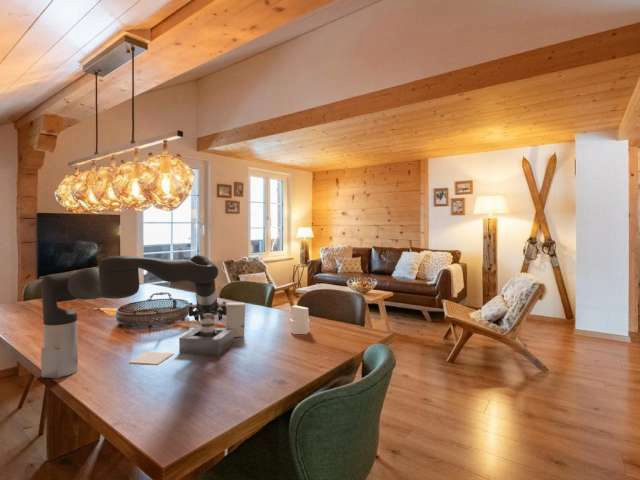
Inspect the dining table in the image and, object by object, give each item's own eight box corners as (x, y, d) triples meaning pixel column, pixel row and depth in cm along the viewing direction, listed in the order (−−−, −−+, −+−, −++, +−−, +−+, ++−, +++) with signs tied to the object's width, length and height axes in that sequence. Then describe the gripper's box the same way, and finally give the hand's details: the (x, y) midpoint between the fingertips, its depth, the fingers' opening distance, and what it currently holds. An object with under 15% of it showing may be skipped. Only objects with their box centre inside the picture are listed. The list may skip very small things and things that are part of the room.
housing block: (218, 355, 141) (218, 340, 140) (179, 353, 143) (179, 338, 142) (233, 342, 157) (233, 328, 156) (198, 340, 159) (198, 326, 158)
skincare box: (226, 338, 163) (226, 304, 162) (225, 334, 168) (225, 302, 168) (245, 336, 165) (245, 304, 165) (243, 332, 171) (244, 301, 170)
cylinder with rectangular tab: (313, 332, 174) (313, 307, 173) (299, 336, 167) (299, 310, 166) (299, 328, 180) (299, 304, 179) (286, 332, 173) (286, 307, 172)
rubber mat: (157, 364, 131) (157, 363, 131) (129, 363, 132) (129, 362, 132) (173, 354, 141) (173, 353, 141) (147, 352, 143) (147, 351, 143)
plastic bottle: (211, 350, 146) (211, 301, 145) (195, 349, 147) (196, 300, 146) (219, 345, 152) (219, 298, 151) (204, 344, 153) (204, 297, 153)
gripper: (185, 305, 133) (189, 328, 145) (225, 304, 136) (226, 326, 148) (187, 288, 138) (191, 311, 150) (226, 287, 141) (227, 310, 153)
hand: (208, 319), depth 149 cm, fingers open, 8 cm apart
